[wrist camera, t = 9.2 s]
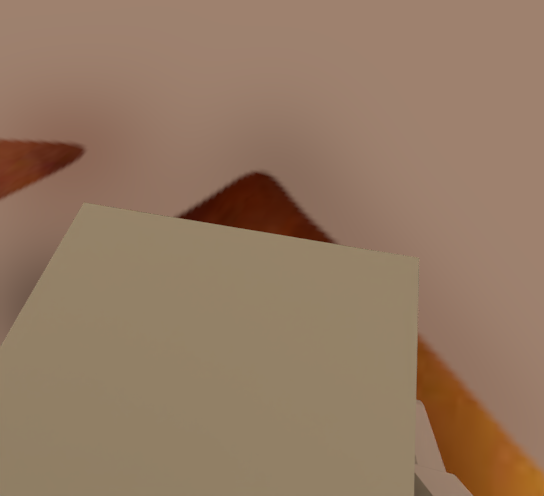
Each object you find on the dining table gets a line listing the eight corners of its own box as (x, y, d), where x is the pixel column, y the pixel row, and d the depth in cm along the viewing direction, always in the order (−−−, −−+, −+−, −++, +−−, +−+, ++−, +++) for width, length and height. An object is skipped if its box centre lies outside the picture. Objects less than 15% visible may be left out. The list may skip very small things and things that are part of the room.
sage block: (314, 495, 11) (405, 978, 2) (185, 456, 12) (-185, 667, 3) (333, 352, 13) (419, 257, 4) (222, 327, 14) (83, 201, 5)
